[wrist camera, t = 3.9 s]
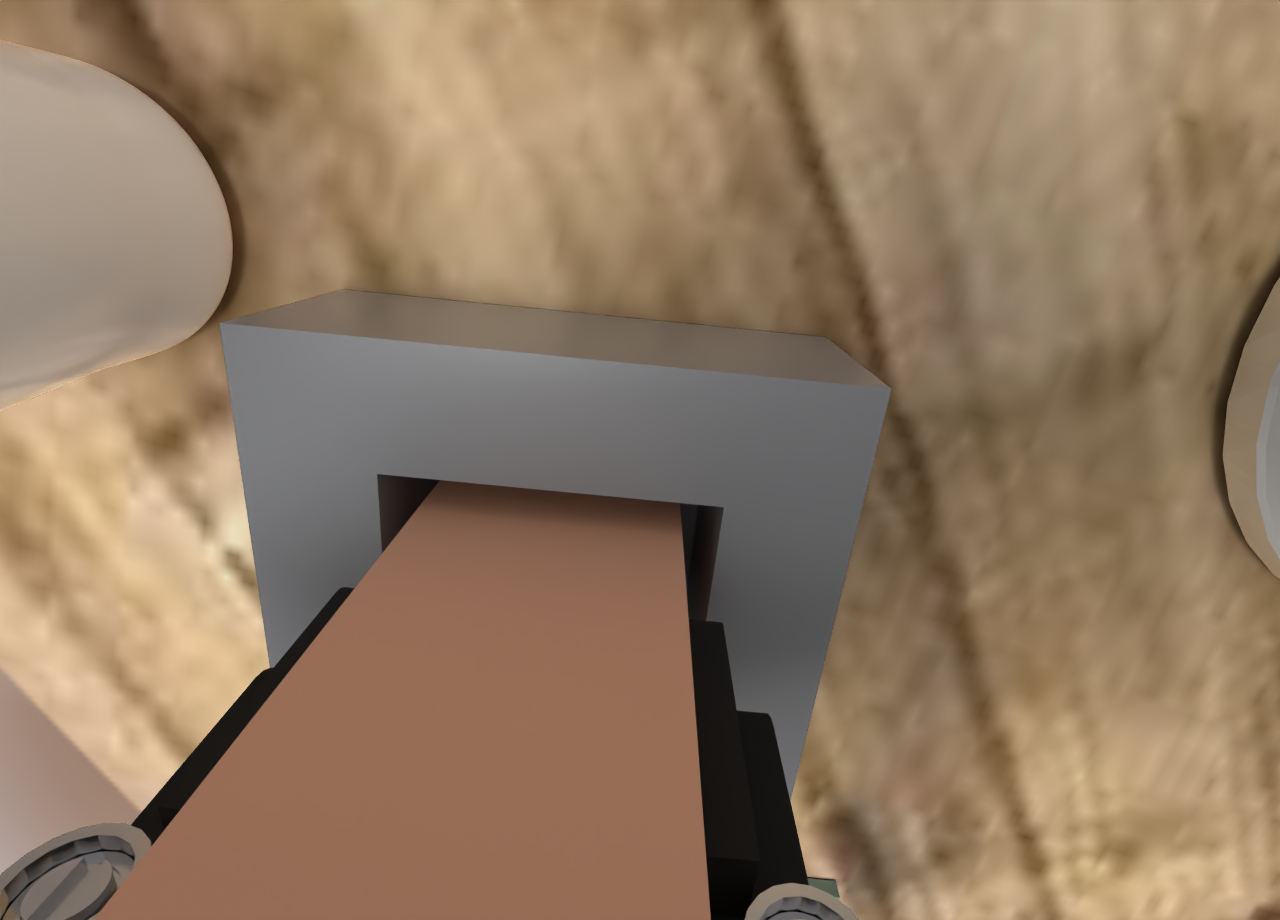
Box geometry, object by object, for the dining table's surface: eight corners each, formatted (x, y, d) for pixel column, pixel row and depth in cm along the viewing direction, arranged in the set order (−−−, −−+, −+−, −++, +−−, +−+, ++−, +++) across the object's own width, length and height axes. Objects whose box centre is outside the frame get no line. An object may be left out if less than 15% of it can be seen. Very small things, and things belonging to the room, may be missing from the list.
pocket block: (826, 337, 13) (891, 388, 10) (750, 714, 17) (776, 855, 13) (342, 289, 13) (219, 322, 10) (372, 679, 17) (291, 812, 13)
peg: (676, 458, 14) (714, 976, 5) (655, 627, 16) (652, 1262, 6) (472, 438, 14) (93, 920, 5) (473, 610, 15) (194, 1223, 6)
